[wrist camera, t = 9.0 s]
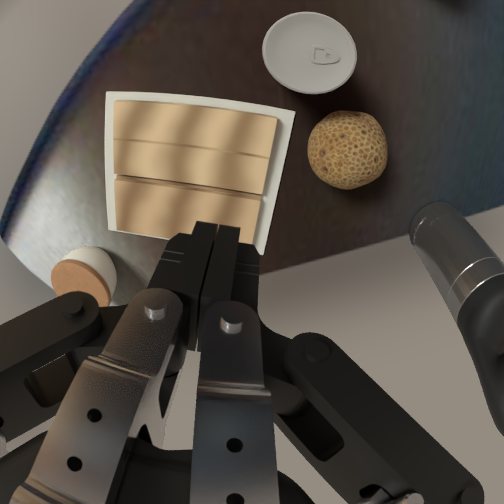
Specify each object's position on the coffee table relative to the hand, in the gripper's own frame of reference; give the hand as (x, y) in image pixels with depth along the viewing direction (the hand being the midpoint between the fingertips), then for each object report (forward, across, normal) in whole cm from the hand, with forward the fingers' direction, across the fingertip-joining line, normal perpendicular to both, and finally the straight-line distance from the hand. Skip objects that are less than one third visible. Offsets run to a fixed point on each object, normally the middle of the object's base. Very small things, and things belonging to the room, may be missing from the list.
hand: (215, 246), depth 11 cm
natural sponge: (+29, -11, +1) cm, 31 cm away
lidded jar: (+29, +22, +27) cm, 45 cm away
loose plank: (+29, +7, +5) cm, 30 cm away
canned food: (+29, -4, -8) cm, 31 cm away
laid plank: (+29, +7, +15) cm, 33 cm away
